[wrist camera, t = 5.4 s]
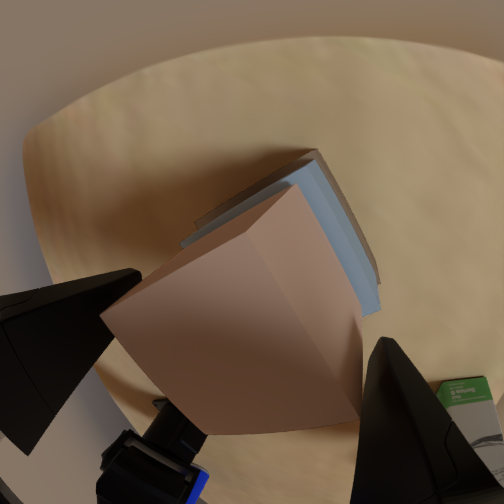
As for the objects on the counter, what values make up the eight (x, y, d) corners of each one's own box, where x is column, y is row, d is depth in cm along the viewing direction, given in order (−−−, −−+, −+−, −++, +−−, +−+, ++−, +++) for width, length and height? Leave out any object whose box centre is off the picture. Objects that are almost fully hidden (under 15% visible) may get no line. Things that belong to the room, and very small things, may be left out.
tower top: (271, 315, 15) (255, 351, 12) (210, 221, 14) (179, 243, 11) (375, 274, 12) (380, 309, 10) (314, 159, 11) (306, 165, 9)
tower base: (275, 300, 18) (262, 327, 16) (217, 208, 17) (193, 222, 14) (375, 258, 15) (380, 283, 12) (318, 148, 14) (312, 150, 11)
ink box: (441, 378, 16) (457, 513, 6) (488, 374, 15) (515, 493, 4) (409, 433, 19) (404, 537, 9) (450, 430, 18) (454, 527, 8)
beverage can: (180, 458, 36) (141, 520, 23) (207, 467, 35) (170, 534, 22) (188, 468, 38) (153, 526, 25) (213, 477, 37) (180, 538, 24)
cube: (252, 342, 12) (205, 434, 7) (186, 246, 11) (99, 315, 7) (361, 305, 10) (360, 419, 5) (296, 182, 9) (246, 231, 4)
